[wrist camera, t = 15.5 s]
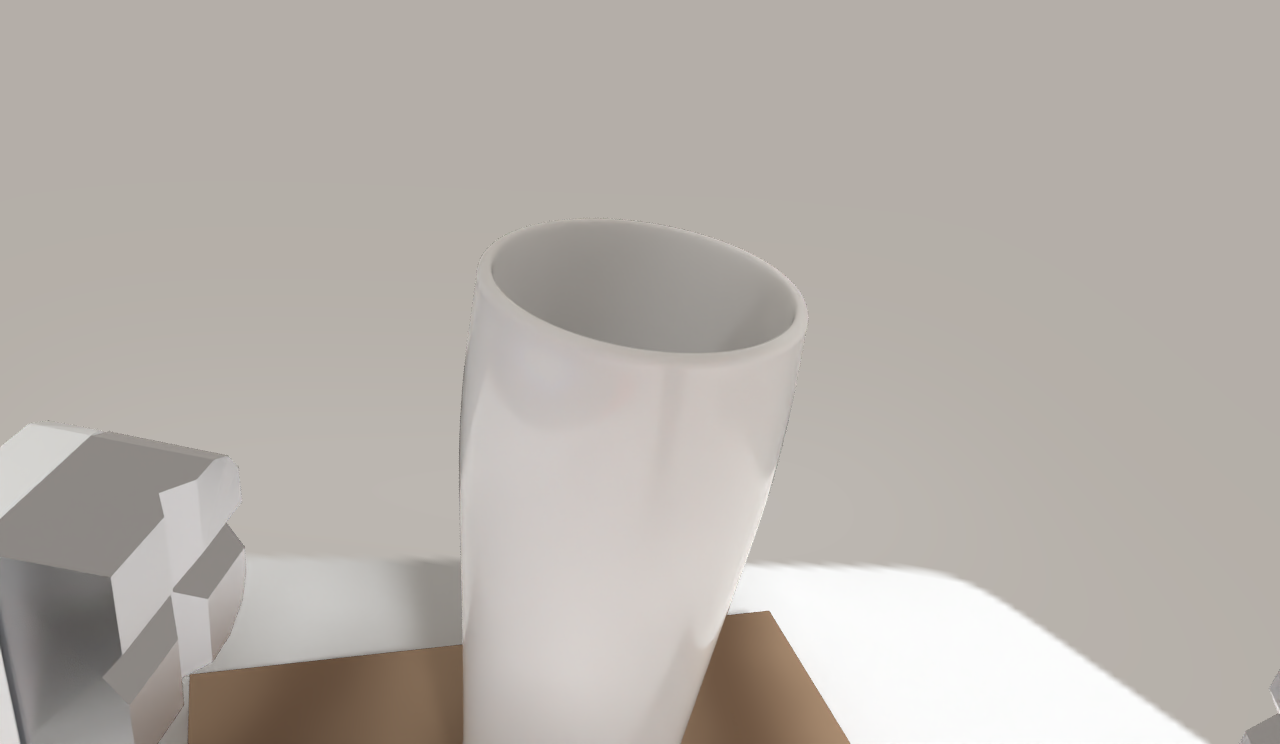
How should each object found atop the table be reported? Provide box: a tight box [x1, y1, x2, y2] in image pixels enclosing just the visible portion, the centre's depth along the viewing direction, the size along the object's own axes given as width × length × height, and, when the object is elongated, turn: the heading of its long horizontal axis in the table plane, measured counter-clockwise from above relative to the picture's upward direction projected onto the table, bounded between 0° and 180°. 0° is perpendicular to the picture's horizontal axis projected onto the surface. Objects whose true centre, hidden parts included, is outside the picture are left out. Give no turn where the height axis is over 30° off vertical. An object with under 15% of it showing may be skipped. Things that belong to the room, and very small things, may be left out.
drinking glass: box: [459, 218, 808, 744], centre depth 25 cm, size 7×7×15 cm
